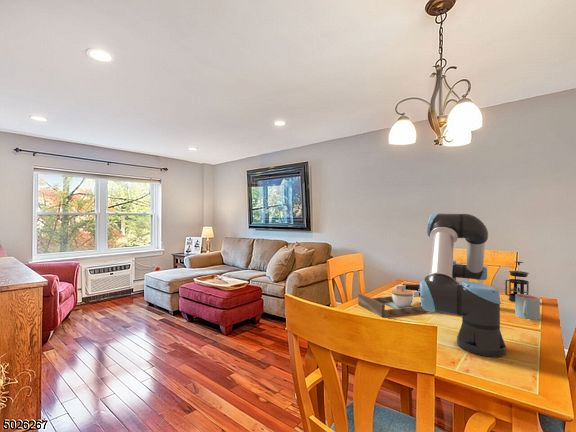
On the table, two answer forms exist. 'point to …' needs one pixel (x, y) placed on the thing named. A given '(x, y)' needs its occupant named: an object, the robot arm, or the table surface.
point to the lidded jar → (402, 298)
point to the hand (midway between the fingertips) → (404, 291)
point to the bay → (379, 306)
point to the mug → (527, 306)
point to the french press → (521, 282)
